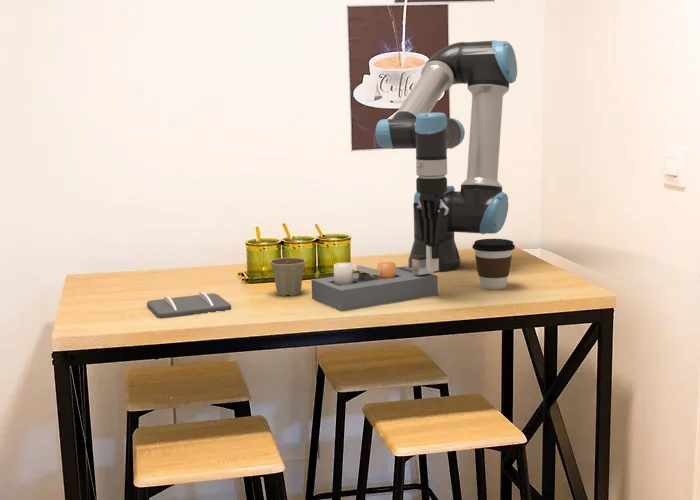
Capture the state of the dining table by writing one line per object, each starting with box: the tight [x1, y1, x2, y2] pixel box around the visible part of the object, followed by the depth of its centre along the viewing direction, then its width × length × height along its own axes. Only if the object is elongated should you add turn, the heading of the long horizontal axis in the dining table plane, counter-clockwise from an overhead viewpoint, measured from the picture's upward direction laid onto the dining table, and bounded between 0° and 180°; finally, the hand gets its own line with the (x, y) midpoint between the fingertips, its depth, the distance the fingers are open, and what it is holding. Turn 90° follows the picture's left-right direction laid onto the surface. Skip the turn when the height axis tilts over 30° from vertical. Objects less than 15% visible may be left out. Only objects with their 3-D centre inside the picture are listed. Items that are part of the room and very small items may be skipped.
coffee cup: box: [472, 238, 516, 291], centre depth 239 cm, size 11×11×12 cm
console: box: [311, 266, 439, 312], centre depth 231 cm, size 15×28×6 cm, turn 120°
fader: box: [411, 254, 434, 275], centre depth 232 cm, size 3×5×4 cm
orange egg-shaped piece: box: [376, 261, 396, 279], centre depth 233 cm, size 5×5×6 cm
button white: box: [333, 262, 354, 286], centre depth 226 cm, size 5×5×6 cm
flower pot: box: [269, 257, 307, 297], centre depth 237 cm, size 9×9×9 cm
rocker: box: [348, 262, 381, 276], centre depth 229 cm, size 4×7×1 cm, turn 120°
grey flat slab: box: [146, 291, 232, 319], centre depth 226 cm, size 18×3×15 cm
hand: (432, 270), depth 229 cm, fingers closed
